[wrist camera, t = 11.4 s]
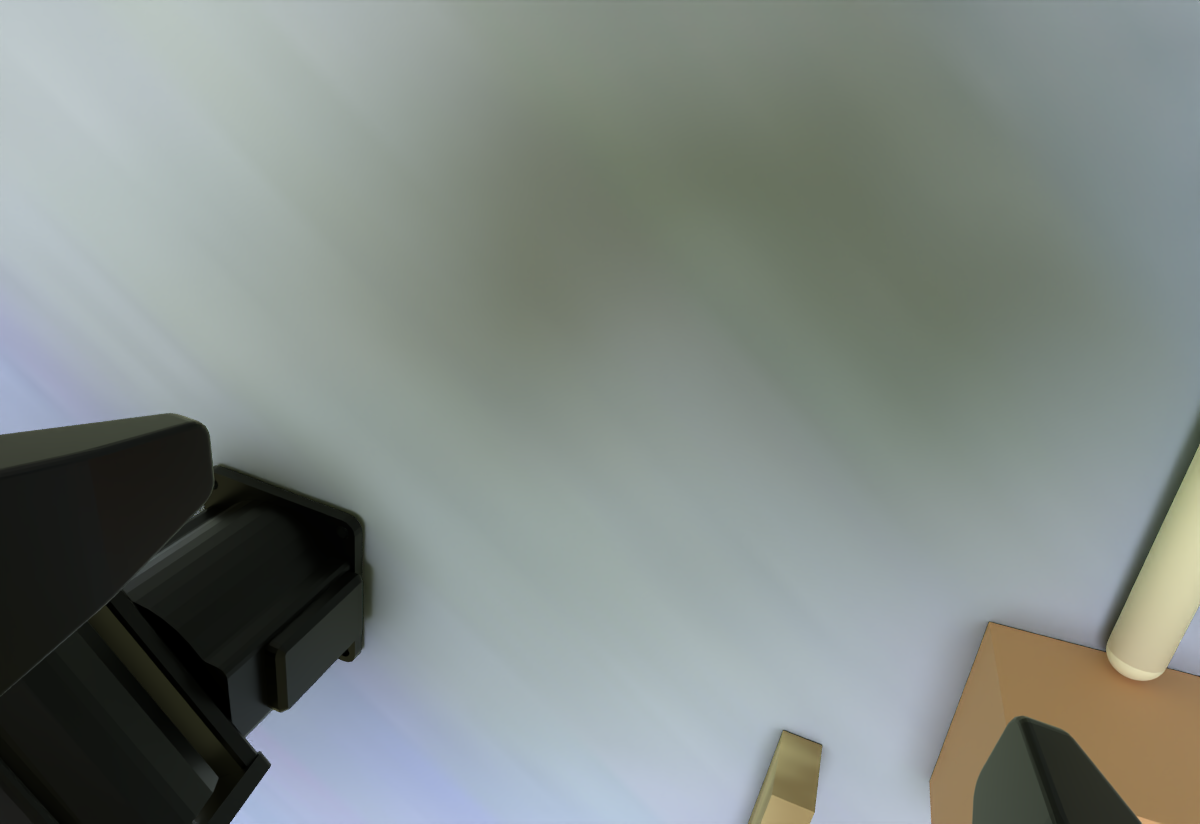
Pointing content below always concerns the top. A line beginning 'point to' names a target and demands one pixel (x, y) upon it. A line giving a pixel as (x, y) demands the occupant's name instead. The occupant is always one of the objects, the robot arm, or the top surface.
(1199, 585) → the block
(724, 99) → the top surface
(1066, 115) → the top surface
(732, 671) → the top surface
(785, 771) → the shelf lane
